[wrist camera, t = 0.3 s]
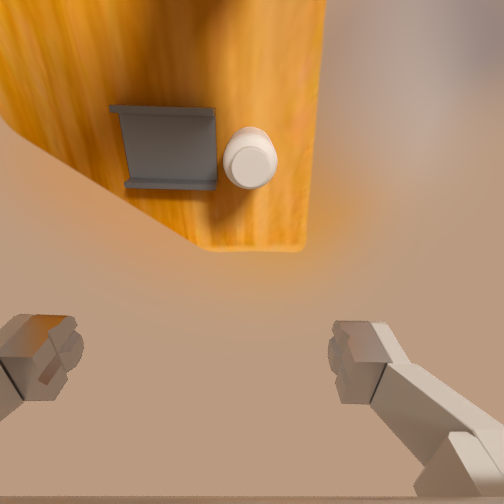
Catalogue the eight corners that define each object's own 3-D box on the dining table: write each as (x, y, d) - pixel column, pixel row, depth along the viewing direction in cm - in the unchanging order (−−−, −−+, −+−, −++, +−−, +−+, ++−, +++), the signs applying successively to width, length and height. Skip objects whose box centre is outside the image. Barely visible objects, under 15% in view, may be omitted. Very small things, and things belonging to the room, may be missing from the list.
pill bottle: (266, 119, 47) (273, 129, 34) (276, 166, 51) (285, 191, 38) (222, 132, 48) (212, 146, 35) (234, 177, 52) (230, 204, 39)
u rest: (118, 104, 46) (108, 105, 43) (215, 107, 46) (212, 108, 43) (132, 182, 52) (125, 187, 49) (217, 184, 53) (215, 190, 50)
